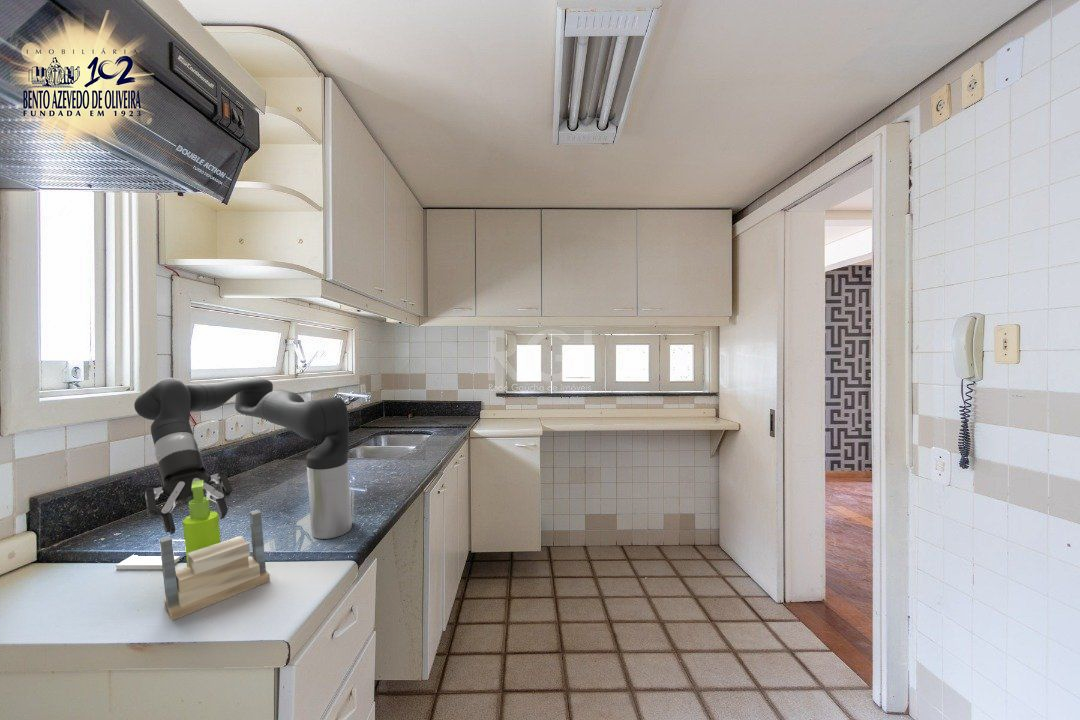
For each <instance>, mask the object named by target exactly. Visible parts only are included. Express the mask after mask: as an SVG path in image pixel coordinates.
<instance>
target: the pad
mask: <svg viewBox="0 0 1080 720" xmlns="http://www.w3.org/2000/svg"><path fill="white" fill-rule="evenodd" d="M172 541H185V540H184V539H172ZM179 558H180V556H174V561H175V565H176V564H178V562H180V561H181V560H179ZM115 566H116V567H115V568H116V570H163V569H162V560H161V556H138V555H134V554H132V555H131V556H128V557H127V558H125V559H124V560H122V561H120V562H119V563H117V564H116V565H115Z"/></svg>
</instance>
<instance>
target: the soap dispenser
mask: <svg viewBox="0 0 1080 720" xmlns="http://www.w3.org/2000/svg"><path fill="white" fill-rule="evenodd" d="M203 484H204V480H199V481H194V482H192V487H191V489H192V491H193V498H194V499H192V500H190V501H188V510H189V511H188V512H189V515H188V516H186V517H184V518H183V519H182V527H183V538H184V539H183V540H185V550H186V557H185V559H186V566H187V567H189V563H188V553H190V552H193V551H196V550H199V549H202V548H205V547H208V546H211V545H214V544H217V543H220V542H222V541H221V531H220V520H219V519H220V518H219V514H218V511H217V510H216V511H215V510H211V505H210V504H211V503H210V500H209V498H208V497H204V494H203ZM187 567H186V568H187Z"/></svg>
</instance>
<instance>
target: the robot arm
mask: <svg viewBox="0 0 1080 720" xmlns="http://www.w3.org/2000/svg"><path fill="white" fill-rule="evenodd" d="M234 396H235V399H234V409H235V410H236V413H238V414H240V415H241V414H242V415H243V416H244V415H245V416H248V417H254V418H258V419H262V420H265V421H267V422H268V423H271V424H273V425H277V426H281V427H284V428H286V429H289V430H290V431H292V432H293V433H295V434H296V435H298V436H300V437H302V438H303V439H306V440H318V439H322V438H325V439H324V440H323V442H322V443H321V444H320V445H318V446H317V447H316V448H314V449H312V450H311V451H309V452H308V453H307V455H306V458H305V459H306V461H305V462H306V475H307V476H306V477H307V489H308V490H307V491H308V501H309V502H308V503H309V504H308V505H309V516H310V519H309V520H310V530H311V532H310V533H311V536H312V537H313V538H315V539H322V540H325V539H334V538H337V537H340V536H343V535H345V534H347V533H349V532H350V531H351V530H352V529H353V528H352V527H353V525H352V508H351V507H352V505H351V491H350V473H349V460H348V459H349V451H350V450H349V449H350V440H349V439H350V433H349V431H350V429H349V428H350V427H349V426H350V425H349V424H350V421H349V410H348V407H347V405H346V402H345V401H344V399H342V398H341V397H339V396H332V397H325V398H321V399H313V400H306V401H305V400H304V398H303V397H302V396H301V395H300V394H298V393H296V392H294V391H293V392H292V391H290V390H284V389H276V390H274V385H273V382H272V381H270V380H269V379H265V378H260V377H259V378H257V377H243V378H237V379H231V380H225V381H219V382H214V383H212V382H211V383H188V384H187V383H186V384H185V383H184V382H183V381H181V380H180V379H177V378H175V377H165V378H162V379H160V380H158V381H157V382H156V383H154V384H153V385H151V386H150V387H149V388H148V389H146V390H145V391H144V392H142V393H141V394H139V395H138V397H137V398H136V399H135V401H134V405H133V406H134V410H135V412H136V414H138V415H139V416H140V417H141V418H144V419H147V420H150V421H153V422H152V423H151V425H150V433H151V434H150V435H151V438H152V440H153V441H152V442H153V445H154V451H155V455H154V456H155V458H156V463H157V466H158V469H159V475H160V478H161V481H162V486H159V487H152V486H148V487H146V488H145V494H144V497H145V504H146V510H147V512H146V513H147V518H148V519H149V520H154V519H160V520H161V521H162V524H163V530H164V531H165V532H166V533H167V534H168V533H169V535H174V534H175V533H176V526H175V522H174V518H173V515H172V511H173V510H174V509H175V507H176V505H177V504H178V503H181V504H184V503H187V502H190V501H191V500H192V499H194V498H193V491H192V489H191V487H192V482H194V481H199V480H204V484H203V494H204V497H208V498H209V501H211V502H214V503H215V508H216V512H218V518H219V519H220V520H223V519H225V517H226V516H227V514H228V511H229V509H228V506H227V503H226V500H227V499H230V498H231V497H232V494H233V487H232V485H231V483H230V480H229V478H228V476H227V474H226V473H227V472H226V471H225V470H223V469H221V470H219V471H218V473H214V474H211V475H210V474H209V473H208V472H207V470H206V467H205V463H204V460H203V456H202V454H201V449H200V447H199V444H198V442H197V440H196V438H195V436H194V432H193V429H192V427H191V424H190V423H191V422H190V418H191V413H192V412H205V411H207V412H208V411H212V410H215V409H217V408H220V407H221V406H223V405H224V404H226V403H227V402H228V401H229V400H230V399H232V398H233V397H234ZM211 482H214V483H215V484H217V485H219V487H220V489H221V491H222V492H220V491H219V490H217V489H216V488H215V487H214V486H212V485H210V484H211ZM161 494H162V495H164V496H166V497H167V500H166V502H165V504H164V506H163V507H162V508H157V502H156V500H157V499H159V497H160V495H161Z"/></svg>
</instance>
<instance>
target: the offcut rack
mask: <svg viewBox="0 0 1080 720" xmlns="http://www.w3.org/2000/svg"><path fill="white" fill-rule="evenodd" d="M248 512H249V524H250V536H251V546H252V548H251V549H250V542H249V541H247V540H246V538H244V536H243V535H239V536H236V537H232V538H230V539H227V540H224V541H221V542H220V543H217V544H214V545H211V546H208V547H205V548H202V549H199V550H196V551H193V552H190V553H188V563H189V567H184V568H181V569H178V570H176V564H175V561H174V552H173V542H172V540H173V539H172V537H171V535H167V536H164V537H161V538H158V540H159V541H160V550H161V560H162V569H161V570H162V575H163V577H162V578H163V585H164V594H165V595H164V596H165V598H164V599H163V603H164V608H165V610H166V612H167V613H169V614H168V616H169V617H170V619H171V621H174V620H177V619H179V618H182V617H184V616H187V615H189V614H191V613H195V612H197V611H200V610H201V608H202V609H204V608H206V606H207V607H209V606H211V604H212V605H214V604H217V603H220V602H221V601H224V600H227V599H229V598H230V597H233V596H235V595H239V594H240V593H243V592H246V591H248V590H251V589H254V588H256V587H258V586H261V585H263V584H265V583H269V582H270V581H271V578H270V573H269V572H268V571H267V567H266V558H265V557H266V556H265V555H266V554H265V544H264V533H263V532H264V531H263V521H262V512H261V511H260V510H259V509H255V510H252V511H248ZM250 550H252V556H251V551H250ZM196 610H197V611H196Z"/></svg>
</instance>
